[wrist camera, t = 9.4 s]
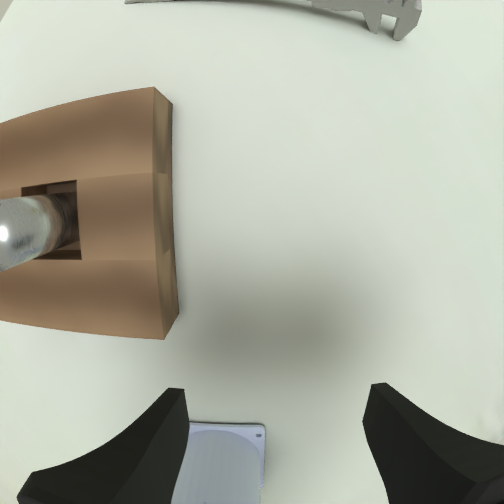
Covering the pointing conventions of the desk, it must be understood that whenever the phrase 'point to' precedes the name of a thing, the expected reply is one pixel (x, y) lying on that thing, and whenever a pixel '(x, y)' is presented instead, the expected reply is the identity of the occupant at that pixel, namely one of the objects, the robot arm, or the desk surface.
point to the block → (97, 215)
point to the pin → (36, 226)
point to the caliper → (368, 12)
